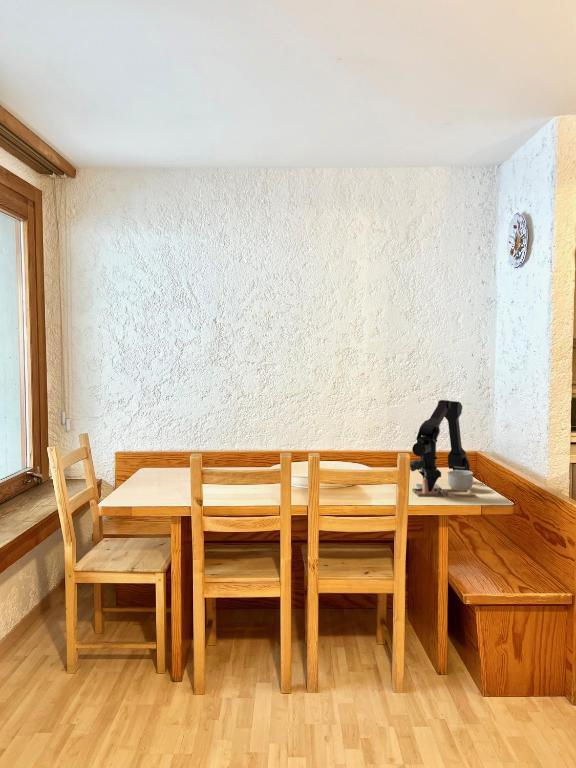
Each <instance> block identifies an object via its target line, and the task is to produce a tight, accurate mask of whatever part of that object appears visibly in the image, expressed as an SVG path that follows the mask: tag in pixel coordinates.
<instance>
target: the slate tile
mask: <svg viewBox="0 0 576 768" xmlns="http://www.w3.org/2000/svg"><path fill="white" fill-rule="evenodd" d="M416 487H417V489H422V483H416ZM434 489H439V490H440V491H441V492H443V489H442V487H441V486H439V485H438V484H437V483H435V485H434Z"/></svg>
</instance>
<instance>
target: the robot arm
mask: <svg viewBox="0 0 576 768" xmlns="http://www.w3.org/2000/svg"><path fill="white" fill-rule="evenodd" d="M462 414H463V404H462V403H461V402H460V401H457V400H456V401H454V400H447V399H440V400H438V403H437V405H436V407H435V409H434V411H433V413H432V414H431V415H430V417H429V418H428V419H426V420H424V421H423V423H422V424H421V425H420V426H419V428H418V432H417V436H416V443H414V444H413V445H412V447H411V449H412V453H413V454H414V456H416V457H419V458H418V459H415V460H411V461H409V462H410V468H409V470H410V471H411V472H415V471H417V472H418V473H419V474H420V475H421V477H422V479H423V478H426V479H427V485H428V491H429V492H431V491H432V489H433V487H434V485H435V484H437V481H438V480H439V478H441V477H442V471H441V470H439V469H438V467H437V466H436V462H437V460H438V457H437V443H438V437H439V435H440V431H441V430H440V429H441V428H440V426H441V424H442V422H443V420H444V418H445V419H446V420H447V423H448V433H449V442H450V451H449V452H448V455H447V465H448V469H449V470H452V471H454V470H466V471H470V469H471V464H470V461H469V459H468V456H467V453H466V451H465V450H464V448H463V446H462V438H461V429H460V417H461V415H462Z"/></svg>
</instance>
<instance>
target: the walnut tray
mask: <svg viewBox="0 0 576 768" xmlns="http://www.w3.org/2000/svg"><path fill="white" fill-rule="evenodd" d="M412 492H413V494H415V495H416V496H417V497H419V498H420V497H423V498H426V497H428V498H431V497H432V498H435V497H436V498H444V497H445V493H444V492H443V491H440V490H439V489H434V494H423V493H422V489H419V488H412Z"/></svg>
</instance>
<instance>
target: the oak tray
mask: <svg viewBox="0 0 576 768" xmlns="http://www.w3.org/2000/svg"><path fill="white" fill-rule="evenodd" d="M442 493H444V495H447V497H449V498H477V494H475V493H474V492H473V491H471V490H470V489H452V488H450V489H447V488H445V489H442Z"/></svg>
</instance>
